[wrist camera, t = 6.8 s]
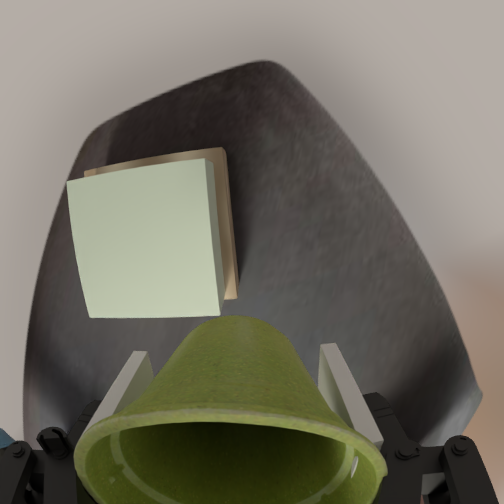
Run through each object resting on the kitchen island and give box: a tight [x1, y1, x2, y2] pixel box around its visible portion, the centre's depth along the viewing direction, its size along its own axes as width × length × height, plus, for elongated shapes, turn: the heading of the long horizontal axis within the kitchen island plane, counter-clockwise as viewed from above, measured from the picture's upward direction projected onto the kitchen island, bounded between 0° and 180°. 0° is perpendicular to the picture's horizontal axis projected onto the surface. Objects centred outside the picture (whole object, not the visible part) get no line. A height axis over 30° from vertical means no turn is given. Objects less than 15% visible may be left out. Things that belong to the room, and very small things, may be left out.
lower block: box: [84, 147, 239, 299], centre depth 29 cm, size 14×14×5 cm
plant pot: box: [74, 315, 388, 504], centre depth 10 cm, size 9×9×9 cm
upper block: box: [67, 158, 225, 318], centre depth 24 cm, size 12×12×5 cm
